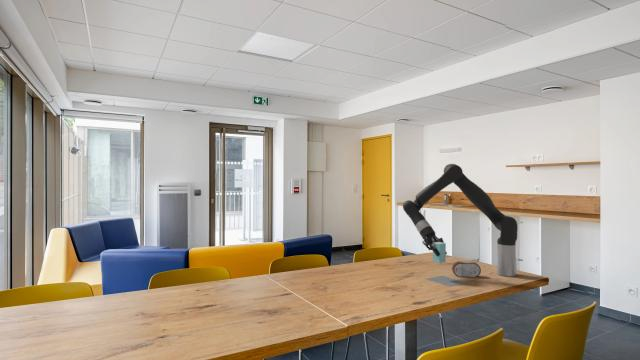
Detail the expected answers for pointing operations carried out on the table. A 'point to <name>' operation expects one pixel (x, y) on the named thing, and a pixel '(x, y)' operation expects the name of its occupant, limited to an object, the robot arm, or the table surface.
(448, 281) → the mat
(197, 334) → the table surface
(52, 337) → the table surface
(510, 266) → the robot arm
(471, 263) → the tin
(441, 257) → the block
